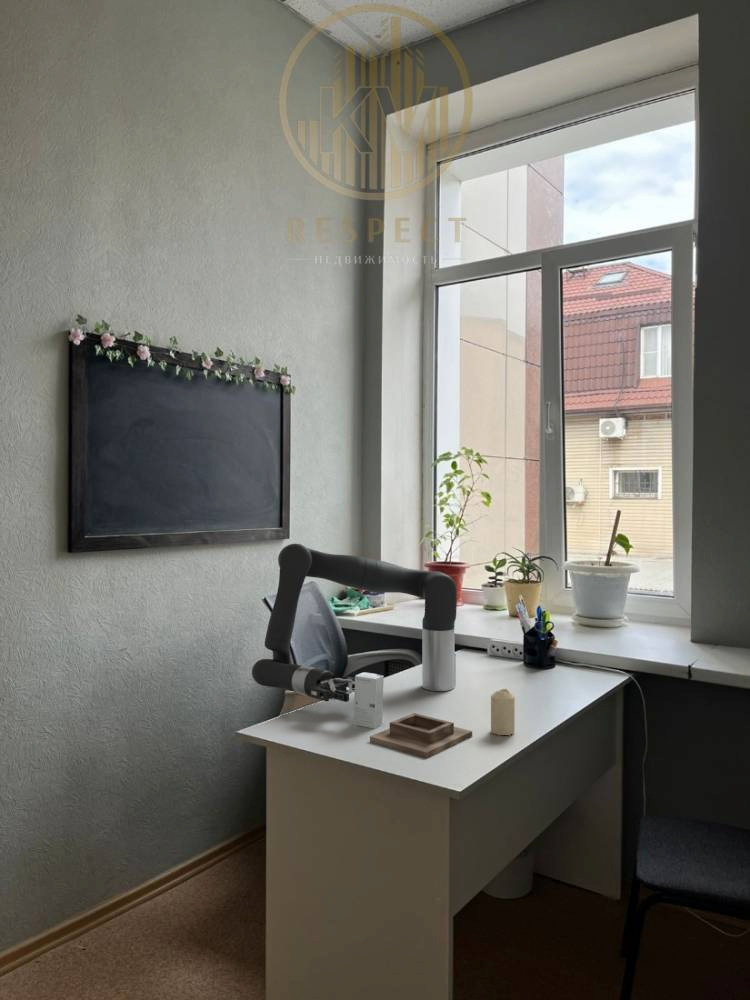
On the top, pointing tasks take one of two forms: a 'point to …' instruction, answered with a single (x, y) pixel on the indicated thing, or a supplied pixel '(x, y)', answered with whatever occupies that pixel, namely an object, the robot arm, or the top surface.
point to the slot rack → (421, 735)
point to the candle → (502, 712)
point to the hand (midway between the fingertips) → (359, 693)
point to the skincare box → (368, 700)
